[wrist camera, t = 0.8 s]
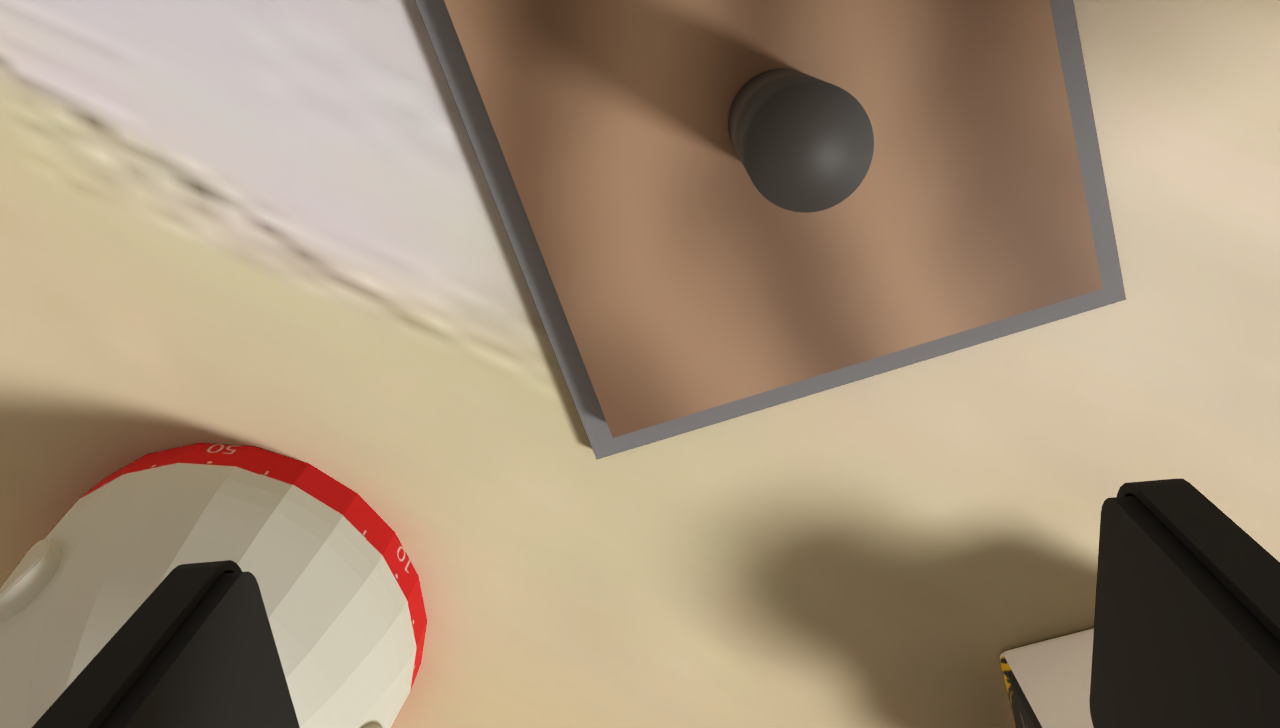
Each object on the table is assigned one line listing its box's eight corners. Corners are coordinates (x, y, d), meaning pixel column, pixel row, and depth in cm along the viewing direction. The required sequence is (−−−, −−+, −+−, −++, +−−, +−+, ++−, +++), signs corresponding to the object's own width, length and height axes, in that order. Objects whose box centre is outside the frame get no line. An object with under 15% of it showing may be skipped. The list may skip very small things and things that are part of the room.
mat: (1005, -328, 25) (1013, -335, 24) (1117, 294, 31) (1125, 299, 30) (387, -83, 27) (381, -85, 27) (597, 451, 33) (596, 459, 33)
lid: (983, -278, 25) (1098, -384, 18) (1088, 280, 30) (1207, 353, 23) (427, -61, 27) (351, -87, 20) (614, 426, 32) (601, 530, 26)
